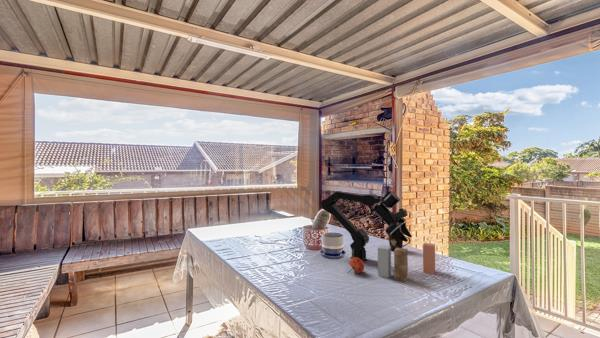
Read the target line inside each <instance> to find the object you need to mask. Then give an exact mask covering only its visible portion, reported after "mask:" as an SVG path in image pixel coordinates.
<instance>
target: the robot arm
mask: <svg viewBox="0 0 600 338" xmlns="http://www.w3.org/2000/svg"><path fill="white" fill-rule="evenodd" d="M340 200H347V201H350V202H358V203H360V204H362V205H363V206H364V205H365V206H367V207H371V208H370V214H374V213H376V214H377V216H378V217H379V218H381V222H382V223H385V224H386V225H387V227H386V228H385V233H386V234H387V236H388V235H389V234H390V233H391V232H392V234H390V235H391V236H394V237H396V238H398V239H401V240H403V242H405V243H408V242H409V239H411V238H412V237H413V236H412V234H411V232H410V230H409V229H408V227H407V220H406V219H405V218H406V217H407V216H409V214H408V211H407V210H406V209H405V208H403V207H401V208H399V209H398V211H397V212H394V211H391V210H390V209H393V208H394V207H395V206H396V205H397V204H398V203H399V202H400V201H401V198H400V197H399V196H398V195H397V194H395V193H394V192H393V191H391V190H388V191H387V192H386V194H385V195H384V196H383V197H381V196H377V194H374V193H372V194H371V193H365V194H364V193H363V194H360V193H354V192H353V193H352V192H347V191H342V190H336V191H335V192H334V193H332V194H331V195H329V196H328V197H326V198H323V199H322V200H321V202H320V207H321V209H322V210H324V211H325V212H326V213H329V214H331V215H332V216H333V217H334V218H335V219H336V220H337V221H338V222H339V224H340V225H341V226H342V227H343V228H344V229H345V230H346V231H347V232H348V233H349V235H350V237H351V239H352V240H353V242H352V243H350V244H349V246H350V248H351V256H350V260H351V259H352V258H353V257H357V258H360V259H363V258H364V260H363V262H366V261H368V259H367V250H366V245H367V244H369V242H370V237H369V235H368V234H369V233H367V232H366V231H365V229H364V228H363V227H362V228H360V229H359V228H357V227H356V226H355V225H354V223H352V222H351V220H349V218H348V217H347V216H346V215H345V214H344V213H343V212H342V211H341V210H340V209H339V208H338V205H337V203H338V202H339V201H340ZM373 206H374V207H373ZM406 237H408V238H409V239H408V238H406Z"/></svg>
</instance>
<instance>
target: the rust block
mask: <svg viewBox="0 0 600 338" xmlns="http://www.w3.org/2000/svg"><path fill="white" fill-rule="evenodd" d="M422 270H423V271H422V273H425V274H432V275H435V272H436V244H435V243H430V242H423V244H422Z"/></svg>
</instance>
